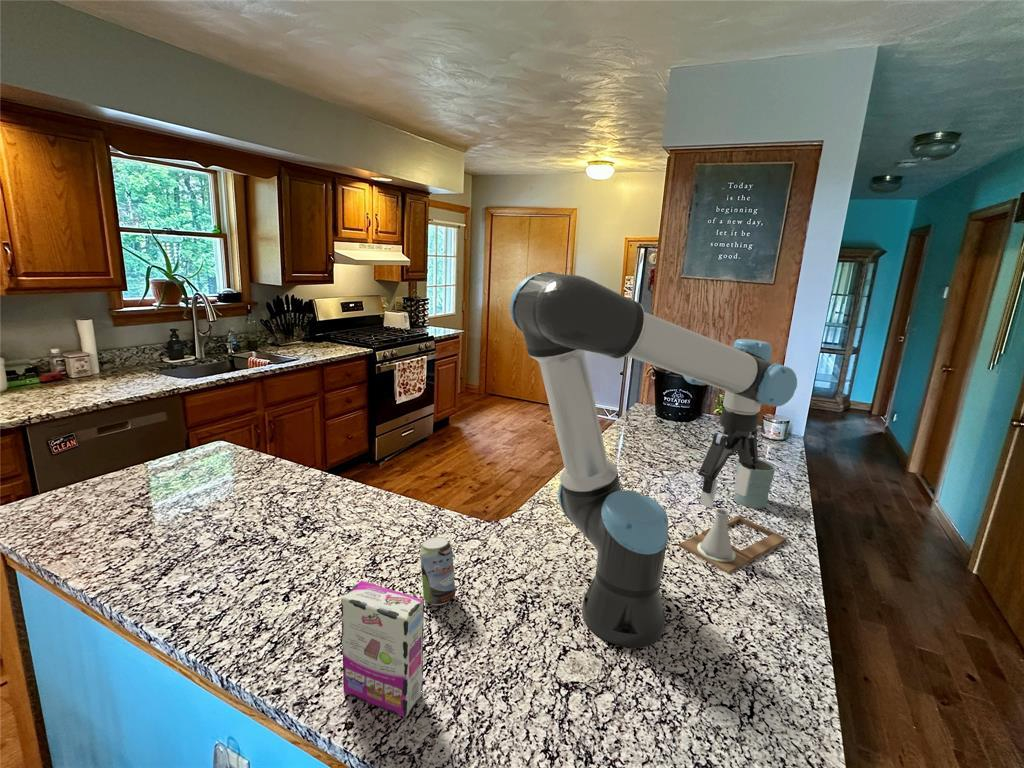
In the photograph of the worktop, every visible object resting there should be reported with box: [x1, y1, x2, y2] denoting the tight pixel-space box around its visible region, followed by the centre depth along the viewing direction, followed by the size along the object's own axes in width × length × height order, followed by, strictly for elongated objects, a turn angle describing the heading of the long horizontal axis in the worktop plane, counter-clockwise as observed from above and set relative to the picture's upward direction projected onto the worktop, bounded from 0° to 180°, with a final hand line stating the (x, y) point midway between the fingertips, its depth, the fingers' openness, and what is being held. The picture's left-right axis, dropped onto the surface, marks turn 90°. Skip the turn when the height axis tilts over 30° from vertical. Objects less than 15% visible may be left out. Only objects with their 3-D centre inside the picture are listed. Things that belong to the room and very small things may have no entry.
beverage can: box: [419, 536, 456, 606], centre depth 95 cm, size 6×7×12 cm
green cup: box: [733, 458, 776, 510], centre depth 145 cm, size 10×10×12 cm
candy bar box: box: [340, 580, 425, 719], centre depth 73 cm, size 11×5×16 cm, turn 69°
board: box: [678, 515, 788, 574], centre depth 123 cm, size 26×13×1 cm, turn 126°
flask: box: [700, 508, 732, 558], centre depth 116 cm, size 7×7×10 cm
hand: (723, 499), depth 114 cm, fingers open, 13 cm apart
